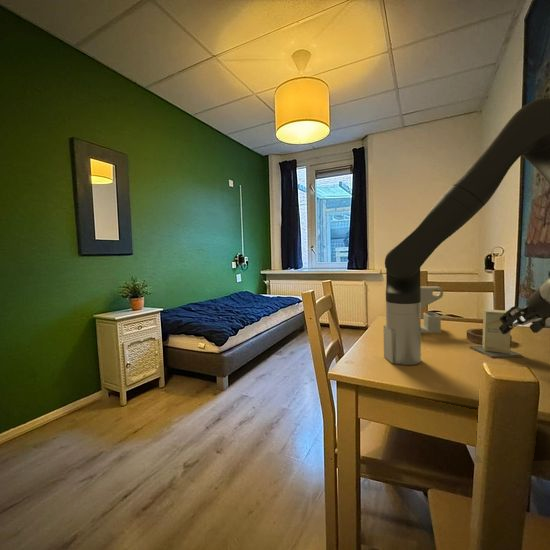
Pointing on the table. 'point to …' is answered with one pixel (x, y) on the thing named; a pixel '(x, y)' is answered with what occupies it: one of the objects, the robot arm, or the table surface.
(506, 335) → the skincare box
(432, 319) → the phone holder
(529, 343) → the table surface
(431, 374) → the table surface
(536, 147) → the robot arm
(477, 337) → the walnut ring stand
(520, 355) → the slate coaster
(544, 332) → the table surface
